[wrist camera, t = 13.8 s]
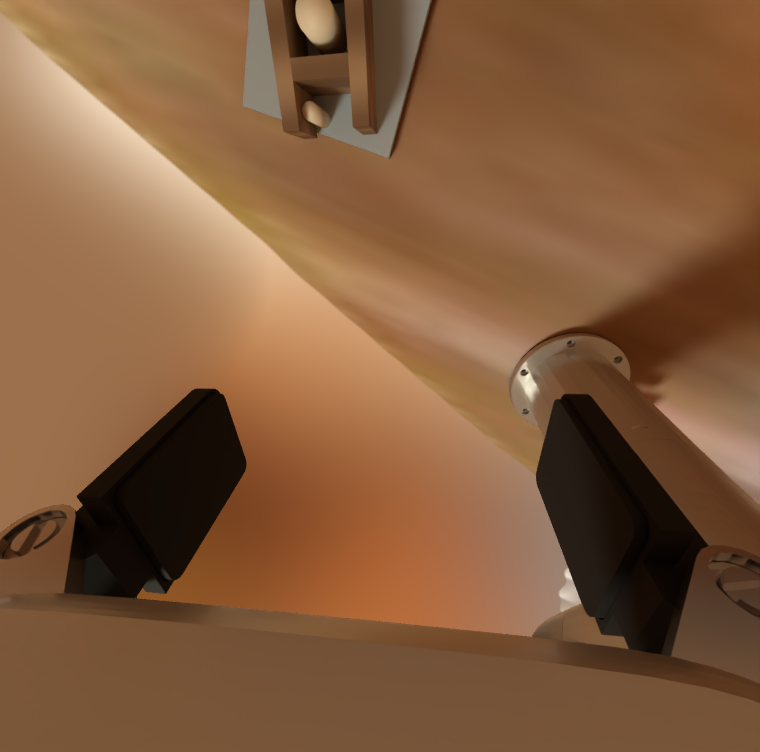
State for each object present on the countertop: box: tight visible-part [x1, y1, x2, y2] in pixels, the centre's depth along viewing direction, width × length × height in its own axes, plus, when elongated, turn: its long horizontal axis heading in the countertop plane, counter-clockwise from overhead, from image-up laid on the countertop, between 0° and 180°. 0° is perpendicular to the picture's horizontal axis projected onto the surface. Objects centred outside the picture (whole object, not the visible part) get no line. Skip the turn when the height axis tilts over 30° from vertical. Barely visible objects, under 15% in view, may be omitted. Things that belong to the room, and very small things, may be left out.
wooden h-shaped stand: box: [264, 0, 377, 139], centre depth 24 cm, size 12×6×5 cm, turn 3°
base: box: [243, 0, 432, 159], centre depth 24 cm, size 13×13×6 cm
